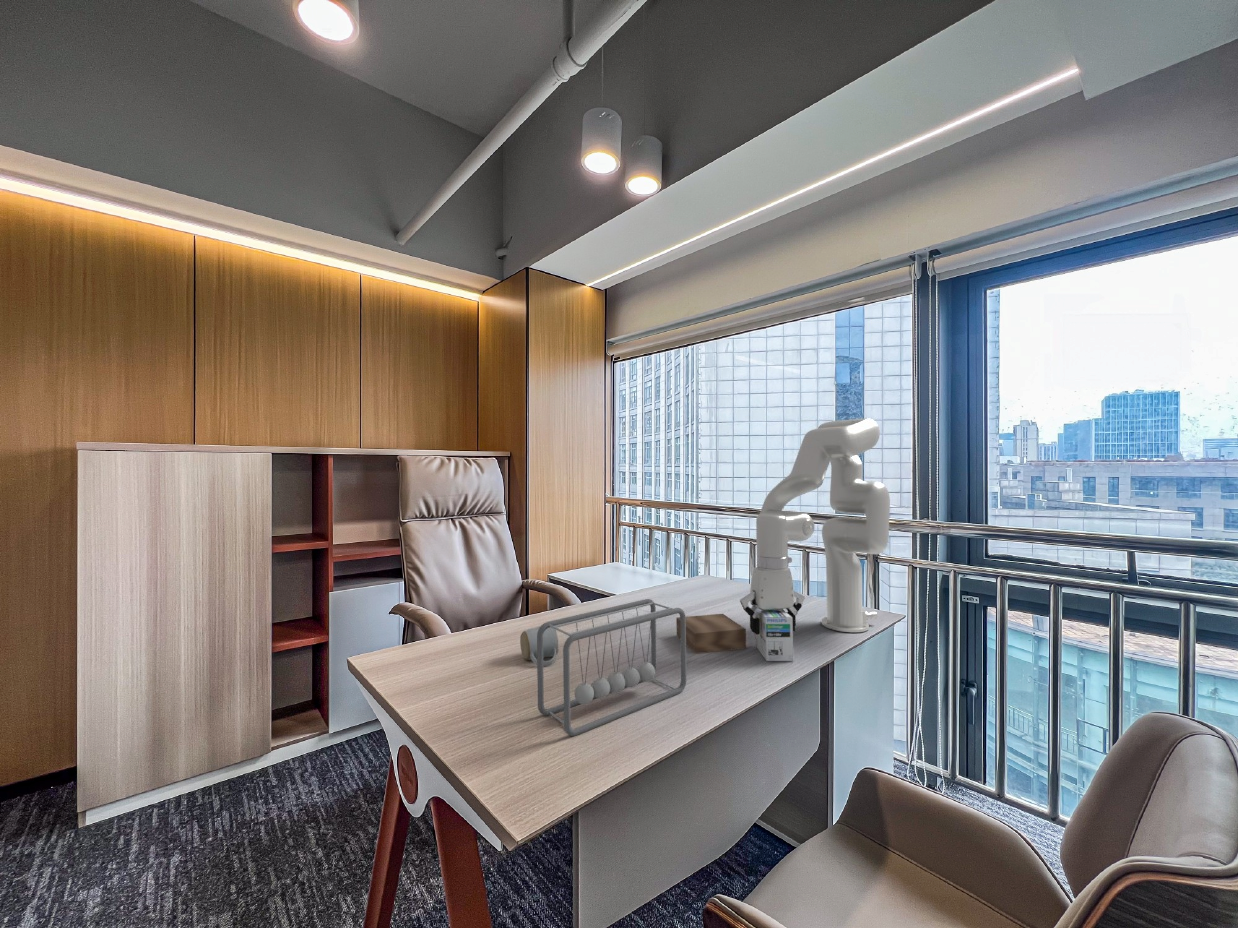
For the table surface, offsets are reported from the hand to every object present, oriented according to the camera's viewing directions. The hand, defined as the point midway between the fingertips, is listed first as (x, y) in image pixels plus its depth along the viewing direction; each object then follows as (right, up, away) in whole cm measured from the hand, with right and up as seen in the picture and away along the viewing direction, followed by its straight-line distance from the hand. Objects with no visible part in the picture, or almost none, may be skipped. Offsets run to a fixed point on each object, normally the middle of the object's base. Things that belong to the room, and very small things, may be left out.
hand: (773, 631), depth 124 cm
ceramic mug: (-58, -7, -1) cm, 58 cm away
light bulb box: (0, -6, 0) cm, 6 cm away
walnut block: (-14, -6, +9) cm, 18 cm away
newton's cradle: (-39, -6, -25) cm, 47 cm away
